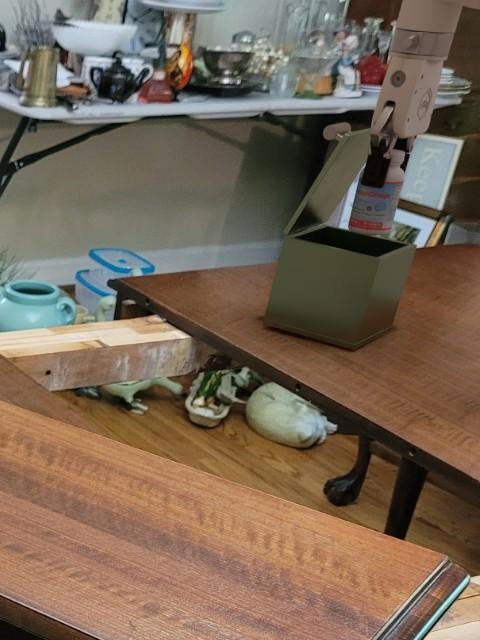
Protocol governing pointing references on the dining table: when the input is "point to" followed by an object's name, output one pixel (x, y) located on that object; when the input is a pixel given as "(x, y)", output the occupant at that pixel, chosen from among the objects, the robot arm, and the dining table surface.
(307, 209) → the bin lid
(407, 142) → the robot arm
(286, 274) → the waste bin
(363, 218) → the pill bottle
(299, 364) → the dining table surface
